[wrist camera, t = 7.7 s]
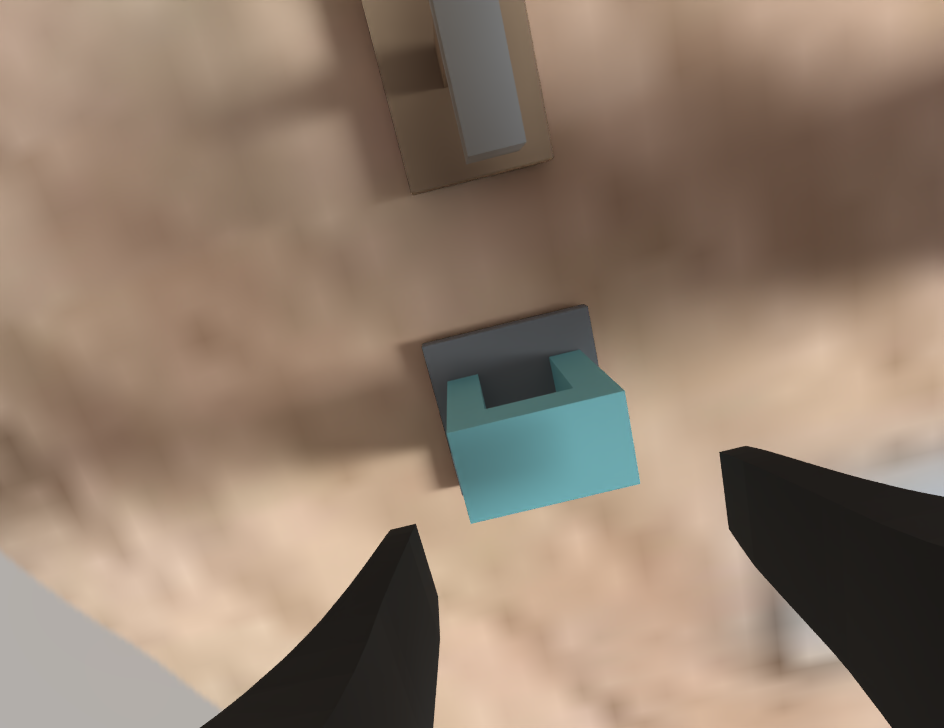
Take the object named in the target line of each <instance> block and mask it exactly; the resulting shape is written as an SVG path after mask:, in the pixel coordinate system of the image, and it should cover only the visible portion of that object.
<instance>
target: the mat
mask: <svg viewBox="0 0 944 728" xmlns="http://www.w3.org/2000/svg"><path fill="white" fill-rule="evenodd" d="M422 350H423V353H424V357H425V361H426V364H427V368H428V372H429V375H430V379H431V383H432V386H433V390H434V394H435V397H436V401H437V405H438V408H439V412H440V416H441V419H442V423H443V427H444V430H445V434H446V431H447V381H451V380H456V379H460V378H464V377H468V376H472V375H476V374H478V377H479V381H480V385H481V389H482V393H483V397H484V402H485V406H486V409H488V408H493V407H497V406H501V405H505V404H509V403H513V402H517V401H522V400H526V399H530V398H534V397H538V396H542V395H547V394H551V393H555V392H556V389H555V384H554V379H553V374H552V369H551V365H550V360H549V357H551V356H555V355H559V354H563V353H567V352H571V351H576V350H581V351H582V352H583V353H584V354H585V355H586V356H587V357H588V358H589V359H590V360H592V361H593V362H594V363H595V364H596V365H597V366H598V360H597V355H596V349H595V344H594V338H593V333H592V327H591V322H590V316H589V311H588V306H586V305H584V304H582V305H578V306H574V307H570V308H566V309H562V310H558V311H554V312H550V313H546V314H542V315H538V316H533V317H529V318H525V319H521V320H517V321H513V322H509V323H505V324H501V325H497V326H493V327H489V328H485V329H480V330H476V331H472V332H468V333H464V334H460V335H456V336H452V337H448V338H444V339H440V340H436V341H431V342H427V343H423V344H422ZM598 367H599V366H598ZM446 437H447V434H446ZM447 441H448V437H447ZM448 445H449V441H448ZM449 448H450V445H449ZM450 452H451V448H450ZM451 456H452V452H451ZM452 459H453V456H452ZM453 463H454V459H453ZM454 467H455V463H454ZM455 470H456V467H455ZM456 474H457V470H456ZM457 478H458V474H457ZM458 481H459V478H458ZM459 485H460V481H459ZM460 489H461V485H460ZM461 492H462V489H461ZM462 495H463V493H462Z"/></svg>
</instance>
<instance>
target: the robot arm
mask: <svg viewBox="0 0 944 728" xmlns="http://www.w3.org/2000/svg"><path fill="white" fill-rule="evenodd" d="M719 453H720V461H721V469H722V477H723V485H724V493H725V501H726V509H727V517H728V525H729V530H730V531H731V533H732V534H733V536H734V537H735V539H736V540H737V542H738V543H739V545H740V546H741V547H742V549H743V550H744V552H745V553H746V555H747V556H748V557H749V559H750V560H751V561H752V563H753V564H754V566H755V567H756V568H757V569H758V570H759V571H760V573H761V574H762V575H763V576H764V577H765V578H766V579H767V580H768V581H769V583H770V584H771V585H772V586H773V587H774V588H775V589H776V590H777V591H778V593H779V594H780V595H781V596H782V597H783V598H784V599H785V600H786V601H787V602H788V604H789V605H790V606H791V607H792V608H793V609H794V610H795V611H796V612H797V613H798V614H799V616H800V617H801V618H802V619H803V620H804V621H805V622H806V623H807V624H808V625H809V626H810V628H811V629H812V630H813V631H814V632H815V633H816V634H817V635H818V636H819V637H820V638H821V640H822V641H823V642H824V643H825V644H826V645H827V646H828V647H829V648H830V649H831V650H832V652H833V653H834V654H835V655H836V656H837V658H838V659H839V660H840V661H841V662H842V663H843V665H844V666H845V667H846V668H847V669H848V670H849V672H850V673H851V674H852V676H853V677H854V678H855V680H856V681H857V682H858V683H859V685H860V686H861V687H862V689H863V690H864V691H865V693H866V694H867V695H868V697H869V698H870V699H871V701H872V702H873V703H874V704H875V706H876V707H877V708H878V710H879V711H880V712H881V714H882V715H883V716H884V718H885V719H886V720H887V722H888V723H889V724H890V726H891V727H892V728H944V497H942V496H937V495H932V494H927V493H921V492H917V491H912V490H907V489H903V488H898V487H894V486H890V485H886V484H882V483H878V482H874V481H870V480H866V479H862V478H859V477H855V476H851V475H848V474H844V473H840V472H837V471H833V470H830V469H827V468H823V467H820V466H816V465H813V464H810V463H806V462H803V461H800V460H796V459H793V458H790V457H786V456H783V455H780V454H776V453H773V452H769V451H766V450H762V449H758V448H753V447H749V446H743V447H739V448H735V449H731V450H726V451H722V452H719ZM439 644H440V628H439V607H438V595H437V592H436V588H435V585H434V582H433V579H432V575H431V572H430V569H429V566H428V562H427V559H426V556H425V552H424V549H423V546H422V543H421V539H420V536H419V533H418V529H417V526H416V524H413V525H409V526H405V527H400V528H396V529H392V530H390V531H389V533H388V534H387V535H386V536H385V538H384V539H383V540H382V542H381V543H380V545H379V546H378V547H377V549H376V550H375V552H374V553H373V555H372V556H371V557H370V559H369V560H368V561H367V563H366V564H365V566H364V567H363V568H362V570H361V571H360V572H359V574H358V575H357V576H356V578H355V579H354V580H353V582H352V583H351V584H350V586H349V587H348V588H347V589H346V591H345V592H344V593H343V594H342V595H341V597H340V598H339V599H338V600H337V602H336V603H335V604H334V605H333V606H332V608H331V609H330V610H329V611H328V612H327V614H326V615H325V616H324V617H323V618H322V620H321V621H320V622H319V623H318V624H317V625H316V626H315V627H314V628H313V629H312V631H311V632H310V633H309V634H308V635H307V636H306V637H305V638H304V639H303V640H302V641H301V642H300V643H299V644H298V645H297V646H296V647H295V648H294V649H293V650H292V651H291V652H290V653H289V654H288V655H287V656H286V657H285V658H284V659H283V660H282V661H281V662H279V663H278V664H277V665H276V666H275V667H274V668H273V669H272V670H270V671H269V672H268V673H267V674H266V675H265V676H264V677H262V678H261V679H260V680H259V681H258V682H257V683H256V684H255V685H253V686H252V687H251V688H250V689H249V690H248V691H247V692H245V693H244V694H243V695H242V696H241V697H239V698H238V699H237V700H236V701H234V702H233V703H232V704H231V705H229V706H228V707H227V708H226V709H224V710H223V711H222V712H220V713H219V714H218V715H217V716H215V717H214V718H213V719H211V720H210V721H208V722H207V723H206V724H205V725H203V726H202V727H200V728H433V722H434V710H435V697H436V685H437V672H438V659H439Z"/></svg>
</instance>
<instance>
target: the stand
mask: <svg viewBox="0 0 944 728" xmlns="http://www.w3.org/2000/svg"><path fill="white" fill-rule="evenodd" d="M361 1H362V5H363V9H364V12H365V16H366V20H367V24H368V28H369V32H370V36H371V39H372V43H373V47H374V51H375V55H376V59H377V63H378V67H379V70H380V74H381V78H382V82H383V86H384V90H385V94H386V98H387V101H388V105H389V109H390V113H391V117H392V121H393V125H394V128H395V132H396V136H397V140H398V144H399V148H400V152H401V156H402V159H403V163H404V167H405V171H406V175H407V179H408V183H409V187H410V190H411V193H412V194H413V195H416V194H420V193H424V192H428V191H432V190H436V189H440V188H444V187H448V186H452V185H456V184H460V183H464V182H467V181H471V180H475V179H479V178H483V177H487V176H491V175H495V174H499V173H503V172H507V171H511V170H515V169H519V168H523V167H527V166H531V165H535V164H539V163H543V162H547V161H549V160H551V159H552V158H554V155H553V150H552V145H551V139H550V134H549V128H548V123H547V118H546V112H545V107H544V102H543V96H542V91H541V85H540V80H539V75H538V69H537V64H536V58H535V53H534V48H533V42H532V37H531V31H530V26H529V21H528V15H527V10H526V5H525V0H361Z"/></svg>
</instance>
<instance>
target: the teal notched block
mask: <svg viewBox="0 0 944 728" xmlns="http://www.w3.org/2000/svg"><path fill="white" fill-rule="evenodd" d="M549 360H550V365H551V369H552V374H553V379H554V384H555V389H556V392H555V393H551V394H547V395H542V396H538V397H534V398H530V399H526V400H522V401H517V402H513V403H509V404H505V405H501V406H497V407H493V408H488V409H486V406H485V402H484V397H483V393H482V389H481V385H480V381H479V377H478V374H476V375H472V376H468V377H464V378H460V379H456V380H451V381H447V431H446V434H447V437H448V441H449V445H450V448H451V452H452V456H453V459H454V463H455V467H456V470H457V474H458V478H459V481H460V485H461V489H462V493H463V496H464V500H465V504H466V507H467V511H468V515H469V518H470V522H471V524H472V523H476V522H480V521H485V520H489V519H493V518H497V517H502V516H506V515H510V514H514V513H519V512H523V511H527V510H531V509H536V508H540V507H544V506H548V505H552V504H557V503H561V502H565V501H569V500H574V499H578V498H582V497H586V496H591V495H595V494H599V493H603V492H608V491H612V490H616V489H620V488H625V487H629V486H633V485H637V484H640V479H639V473H638V467H637V461H636V455H635V449H634V443H633V438H632V432H631V426H630V420H629V414H628V408H627V402H626V396H625V391H624V390H623V389H622V388H621V387H620V386H619V385H618V384H617V383H616V382H615V381H613V380H612V379H611V378H610V377H609V376H608V375H607V374H606V373H605V372H604V371H602V370H601V369H600V368H599V367H598V366H597V365H596V364H595V363H594V362H593V361H592V360H590V359H589V358H588V357H587V356H586V355H585V354H584V353H583V352H582V351H581V350H576V351H571V352H567V353H563V354H559V355H555V356H551V357H549Z"/></svg>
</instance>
